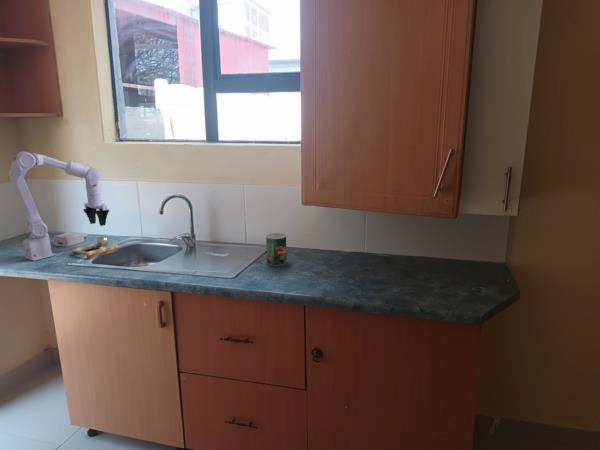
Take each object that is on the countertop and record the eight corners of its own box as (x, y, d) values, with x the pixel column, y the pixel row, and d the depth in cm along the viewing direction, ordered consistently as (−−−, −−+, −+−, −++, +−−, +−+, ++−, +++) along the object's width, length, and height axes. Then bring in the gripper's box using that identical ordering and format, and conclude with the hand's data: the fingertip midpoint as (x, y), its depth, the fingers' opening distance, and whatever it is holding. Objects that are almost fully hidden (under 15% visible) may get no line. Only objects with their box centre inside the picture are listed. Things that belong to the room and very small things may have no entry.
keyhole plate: (88, 259, 184) (88, 253, 183) (72, 254, 190) (72, 249, 190) (118, 250, 195) (118, 245, 194) (102, 247, 201) (102, 241, 201)
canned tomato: (284, 266, 170) (283, 238, 167) (264, 265, 171) (263, 238, 169) (288, 260, 177) (288, 233, 175) (269, 259, 179) (269, 233, 176)
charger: (94, 239, 216) (67, 247, 202) (81, 237, 219) (54, 245, 206) (93, 230, 215) (66, 237, 201) (79, 228, 218) (52, 235, 205)
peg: (102, 253, 192) (100, 239, 191) (95, 251, 195) (93, 238, 193) (112, 250, 196) (111, 237, 195) (105, 248, 199) (104, 235, 198)
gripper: (112, 194, 196) (115, 224, 199) (93, 192, 204) (96, 220, 207) (97, 197, 190) (101, 227, 193) (78, 194, 198) (82, 223, 201)
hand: (97, 224), depth 200 cm, fingers open, 7 cm apart
